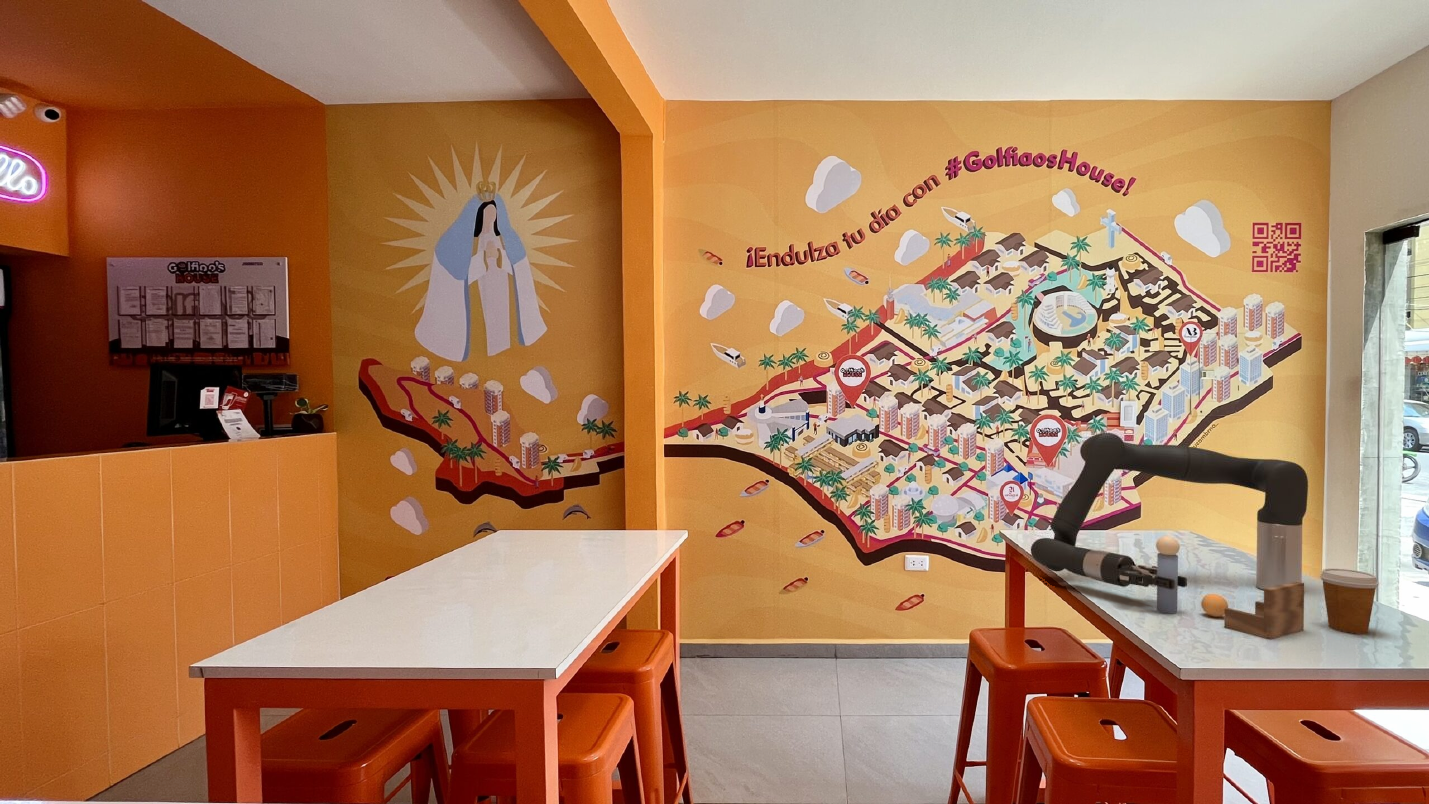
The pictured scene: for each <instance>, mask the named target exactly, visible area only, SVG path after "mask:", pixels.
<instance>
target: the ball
mask: <svg viewBox="0 0 1429 804" xmlns="http://www.w3.org/2000/svg"><path fill="white" fill-rule="evenodd" d="M1200 602H1201V603H1200V604H1201V608H1202V610H1203V612H1205V613H1206V615H1208V616H1211V617H1214V618H1217V617H1222V616H1224V613H1225V608H1229V603H1228V601H1227V600H1226V599H1225V597H1224V596H1222V595H1220V594H1217V593H1209V594H1206V595H1204V597H1202V599H1201V601H1200Z"/></svg>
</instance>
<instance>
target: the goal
mask: <svg viewBox="0 0 1429 804" xmlns="http://www.w3.org/2000/svg"><path fill="white" fill-rule="evenodd" d="M1304 613H1305V582H1294V583H1289V584H1284V585H1280V586H1275V587H1270V588H1265V589H1263V601H1261V600H1258V601H1255V602H1254V613H1251V612H1246V611H1242V610H1238V609H1234V608H1229V607H1228V608H1225V613H1224V615H1223V616H1224V617H1223V619H1224V620H1223V621H1224V625H1223V626H1224V627H1223V628H1226V629H1230V630H1233V631H1237V632H1241V633H1244V634H1248V635H1251V636H1256V637H1260V638H1263V639H1268V640H1272V639H1276V638H1280V637H1283V636H1288V635H1291V634H1294V633H1299V632H1303V631H1304V629H1305V628H1304V622H1305V619H1304V618H1305V614H1304Z"/></svg>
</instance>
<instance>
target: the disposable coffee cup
mask: <svg viewBox="0 0 1429 804" xmlns="http://www.w3.org/2000/svg"><path fill="white" fill-rule="evenodd" d="M1319 577H1320V579H1321V581H1322V584H1323V585H1322V588H1323V595H1324V601H1325V608H1326V617H1327V623H1328V627H1329V628H1330V629H1333V630H1335V631H1338V632H1342V633H1347V632H1350V633H1349V634H1354V633H1356V635H1365V634H1368V633H1369V627H1370V622H1371V616H1372V611H1373V606H1374V599H1375V596H1376V591H1377V588H1378V586H1379V584H1380V582H1379V581H1378V579H1377V577H1376V575H1375V574H1373V573H1369V572H1365V571H1359V570H1355V569H1354V570H1353V569H1347V568H1346V569H1345V568H1335V567H1334V568H1332V567H1331V568H1323V569H1322V570H1321V574H1319Z"/></svg>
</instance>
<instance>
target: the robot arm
mask: <svg viewBox="0 0 1429 804" xmlns="http://www.w3.org/2000/svg"><path fill="white" fill-rule="evenodd" d="M1079 453H1080V456H1081V459H1082V460H1083V461H1084V465H1083V468H1082V470H1081V472H1080V474H1079V475H1078V477H1077V479H1076V480H1075V482H1074V484H1073V485H1072V486H1071V488H1070V489H1069V490H1068V492H1067V493H1066V494H1065V496H1064V497H1063V498H1062V500H1061V502H1060V503H1059V505H1058V507H1057V509H1056V511H1055V513H1054V515H1053V517H1052V519H1051V522H1050V529H1051V530H1052V531H1053V534H1054V535H1053V536H1054V537H1053V538H1050V537H1041V538H1038V539H1036V540H1035V541H1034V542H1033V543H1032V544H1031V546H1030V554H1031V556H1032V558H1033V559H1034V560H1035V562H1037V563H1039V564H1040V565H1042V566H1044V567H1045V568H1047V569H1049V570H1050V571H1053V572H1061V571H1064V570H1066V571H1068V572H1070V573H1072V574H1074V575H1078V576H1081V577H1084V578H1085V577H1086V578H1089V579H1092V580H1095V581H1098V582H1102V583H1107V584H1110V585H1114V586H1118V587H1122V588H1125V587H1128V586H1130V585H1133V586H1139V587H1145V588H1147V587H1148V588H1149V586H1150V587H1153V588H1154V587H1156V588H1157V586H1158V587H1163V588H1167V589H1174V588H1175V581H1174V580H1173V579H1169V578H1164V577H1160V576H1157V565H1156V566H1155V565H1152V566H1151V567H1150V566H1147V565H1144V564H1137V565H1136V563H1135V561H1134V560H1133V558H1132V557H1130V556H1129V555H1125V554H1119V553H1114V552H1111V551H1106V550H1105V551H1104V550H1100V549H1099V550H1098V549H1090V548H1085V547H1081V546H1080V547H1079V546H1076V544H1077V537H1078V534H1079V532H1080V530H1081V529H1082V526H1083V525H1084V522H1085V520H1086V518H1087V516H1088V514H1089V512H1090V511H1091V508H1092V506H1093V504H1094V502H1095V500H1096V499H1097V497H1098V495H1099V494H1100V492H1101V490H1102V489H1103V487H1104V486H1105V483H1106V482H1107V481H1108V479H1109V478H1110V476H1111V475H1112V474H1113V472H1114V471H1115V470H1123V471H1124V470H1125V471H1133V472H1139V473H1142V474H1147V475H1150V476H1151V475H1152V476H1155V477H1160V478H1166V479H1171V480H1175V481H1181V482H1187V483H1195V484H1205V485H1207V484H1211V485H1213V484H1215V485H1216V484H1217V485H1218V484H1222V485H1223V484H1224V485H1233V486H1238V487H1243V488H1248V489H1251V490H1256V491H1259V492H1262V493H1264V504H1263V506H1262V507H1261V508H1259V509H1258V510H1257V514H1256V572H1255V573H1256V577H1255V578H1256V579H1255V582H1256V584H1255V586H1256V588H1258V589H1261V590H1264V589H1265V588H1270V587H1275V586H1280V585H1284V584H1289V583H1294V582H1302V580H1303V579H1302V578H1303V519H1304V516H1305V515H1306V513H1307V507H1308V494H1309V493H1308V492H1309V480H1308V479H1309V478H1308V475H1307V472H1306V470H1305V469H1304V468H1303V467H1302V466H1301V465H1299V464H1298V463H1296V462H1292V461H1288V460H1284V459H1283V460H1282V459H1274V458H1270V459H1269V458H1248V457H1247V458H1246V457H1236V456H1231V455H1228V454H1225V453H1220V452H1217V451H1215V450H1214V451H1213V450H1209V449H1204V448H1201V447H1199V448H1198V447H1193V446H1186V445H1178V444H1177V445H1176V444H1137V443H1136V444H1135V443H1131V442H1130V443H1129V442H1125V441H1124V440H1123V439H1122V438H1121V436H1119V435H1117V434H1116V433H1112V432H1100V433H1097V434H1094V435H1092V436H1090V437H1088V438H1087V439H1086V440H1084V441H1083V442H1082V444H1081V445H1080V449H1079ZM1302 583H1303V582H1302ZM1187 586H1188V579H1187V577H1186V576H1181V575H1178V587H1181V588H1186V587H1187Z"/></svg>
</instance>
